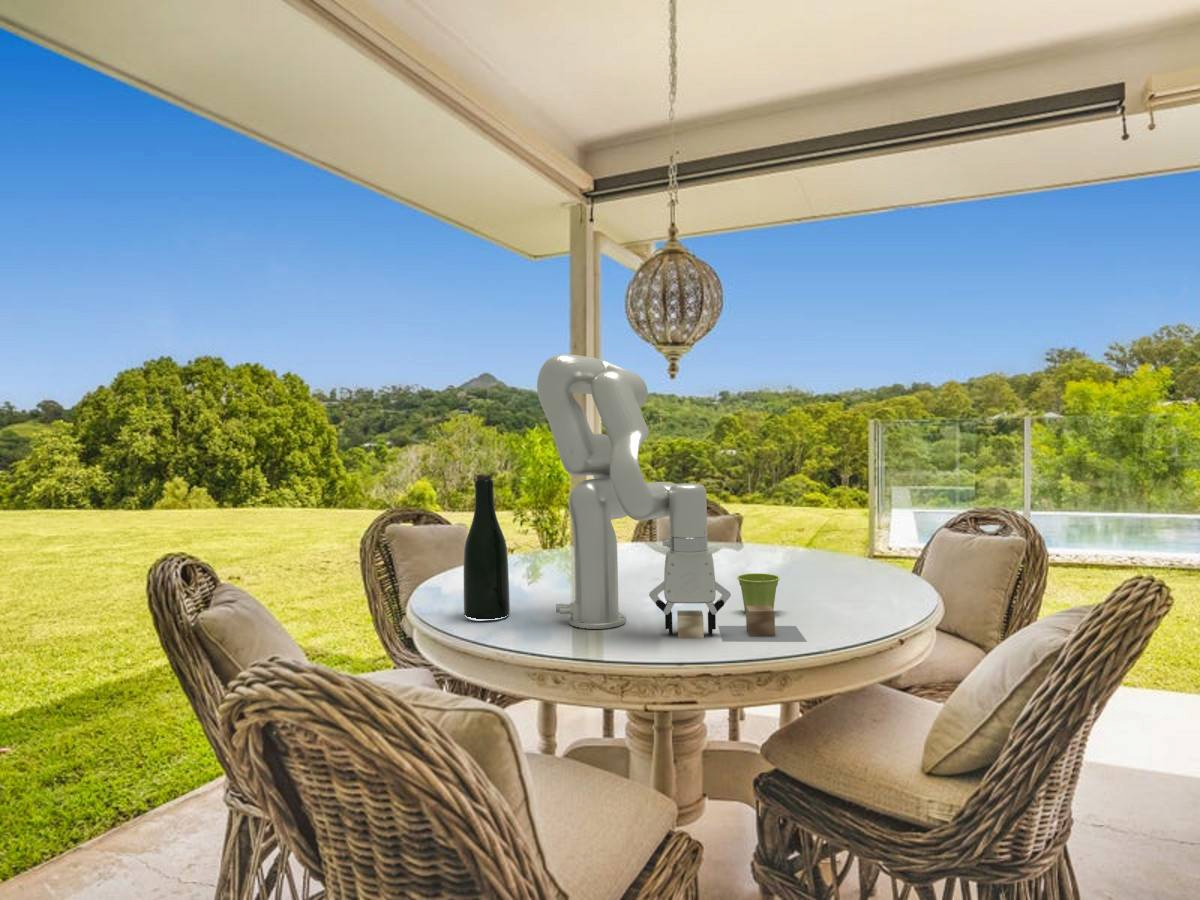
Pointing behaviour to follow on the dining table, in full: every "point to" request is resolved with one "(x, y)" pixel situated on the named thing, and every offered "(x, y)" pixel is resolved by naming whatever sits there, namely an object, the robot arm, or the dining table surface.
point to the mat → (742, 636)
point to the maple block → (690, 624)
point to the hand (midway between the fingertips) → (690, 632)
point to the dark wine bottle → (485, 559)
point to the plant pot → (758, 589)
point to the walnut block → (760, 621)
